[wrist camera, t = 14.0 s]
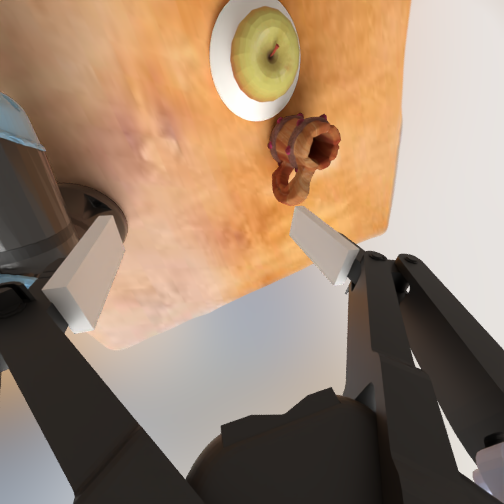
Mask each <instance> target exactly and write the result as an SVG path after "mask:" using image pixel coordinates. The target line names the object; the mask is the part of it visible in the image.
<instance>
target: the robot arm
mask: <svg viewBox="0 0 504 504" xmlns="http://www.w3.org/2000/svg"><path fill="white" fill-rule="evenodd" d="M44 151H46V149H45V147H44V146H43V145H41V144H40V142H39V140H38V137H37V135H36V133H35V131H34V129H33V127H32V124H31V122H30V120H29V118H28V116H27V114H26V112H25V111H24V109H23V108H22V107H21V106H20V105H19V104H18V103H17V102H16V101H14V100H13V99H12V98H10V97H9V96H7V95H5V94H3V93H2V92H0V387H1V372H2V371H5V370H7V369H9V370H10V372H11V373H12V375H13V377H14V379H15V381H16V383H17V385H18V387H19V388H20V390H21V392H22V394H23V396H24V398H25V400H26V402H27V404H28V406H29V407H30V409H31V411H32V413H33V415H34V417H35V419H36V420H37V422H38V424H39V426H40V428H41V430H42V432H43V434H44V436H45V438H46V440H47V441H48V443H49V445H50V447H51V449H52V451H53V452H54V454H55V456H56V458H57V460H58V462H59V464H60V466H61V468H62V470H63V472H64V474H65V475H66V477H67V479H68V481H69V483H70V485H71V487H72V489H73V491H74V495H75V499H74V502H73V504H504V350H503V349H502V348H501V347H500V345H499V344H498V343H497V342H496V341H495V340H494V339H493V338H492V337H491V336H490V335H489V333H488V332H487V331H486V330H485V329H484V328H483V327H482V326H481V325H480V324H479V323H478V322H477V320H476V319H475V318H474V317H473V316H472V315H471V314H470V313H469V312H468V311H467V310H466V308H465V307H464V306H463V305H462V304H461V303H460V302H459V301H458V300H457V299H456V298H455V296H454V295H453V294H452V293H451V292H450V291H449V290H448V289H447V288H446V287H445V286H444V285H443V283H442V282H441V281H440V280H439V279H438V278H437V277H436V276H435V275H434V274H433V273H432V271H431V270H430V269H429V268H428V267H427V266H426V265H425V264H424V263H423V262H422V261H421V260H420V259H418V258H417V257H415V256H412V255H410V254H409V255H408V254H399V256H398V257H397V259H396V260H388V259H387V258H386V257H385V256H384V255H382V254H380V253H377V252H374V251H364V250H363V249H361V248H360V247H359V246H358V245H356V244H355V243H354V242H352V241H351V240H350V239H348V238H347V237H346V236H344V235H343V234H341V233H339V232H337V231H335V230H334V229H333V228H332V227H330V226H329V225H328V224H326V223H325V222H324V221H322V220H321V219H320V218H318V217H317V216H316V215H315V214H313V213H312V212H311V211H309V210H308V209H307V208H305V207H304V206H295V209H294V214H293V219H292V224H291V229H290V234H289V236H290V237H291V238H292V239H293V240H294V241H295V242H296V244H297V245H298V246H299V247H300V248H301V249H302V250H303V251H304V253H305V254H306V255H307V256H308V257H309V258H310V259H311V261H312V262H313V263H314V264H315V265H316V266H317V267H318V268H319V270H320V271H321V272H322V273H323V274H324V275H325V276H326V278H328V280H329V281H330V282H331V283H332V284H333V285H334V286H337V285H342V284H344V283H345V281H346V278H347V277H348V278H349V279H350V280H351V282H350V284H349V287H348V288H347V290H346V292H345V294H347V293H348V292H349V302H348V333H347V334H348V336H347V365H346V366H347V367H346V385H345V390H344V393H343V396H340V395H336V394H335V393H334V391H333V389H332V387H331V388H328V389H324V390H322V391H319V392H316V393H313V394H310V395H308V396H306V397H305V398H304V399H303V400H301V401H300V402H299V403H298V404H296V405H295V406H294V407H293V408H292V409H290V410H289V411H288V412H287V413H285V414H282V415H250V416H247V417H245V418H241V419H239V420H236V421H233V422H230V423H227V424H224V425H221V434H220V435H219V436H217V437H216V438H215V439H214V440H213V441H211V442H210V444H208V446H207V447H206V448H205V449H204V450H203V451H202V453H201V454H200V455H199V457H198V458H197V460H196V461H195V463H194V464H193V466H192V468H191V470H190V472H189V473H188V475H187V477H186V480H185V479H184V477H183V476H182V475H181V474H180V473H179V471H178V470H177V469H176V468H175V467H174V465H173V464H172V463H171V462H170V461H169V459H168V458H167V457H166V456H165V454H164V453H163V452H162V451H161V450H160V448H159V447H158V446H157V445H156V444H155V442H154V441H153V440H152V439H151V438H150V436H149V435H148V434H147V433H146V432H145V430H144V429H143V428H142V427H141V426H140V425H139V424H138V422H137V421H136V420H135V419H134V418H133V416H132V415H131V414H130V413H129V412H128V410H127V409H126V408H125V407H124V405H123V404H122V403H121V402H120V401H119V400H118V398H117V397H116V396H115V395H114V393H113V392H112V391H111V390H110V388H109V387H108V386H107V385H106V384H105V383H104V381H103V380H102V379H101V378H100V376H99V375H98V374H97V373H96V372H95V370H94V369H93V368H92V367H91V365H90V364H89V363H88V362H87V361H86V359H85V358H84V357H83V356H82V355H81V354H80V352H79V351H78V350H77V349H76V348H75V346H74V345H73V344H72V343H71V342H70V340H69V339H68V338H67V337H66V335H65V334H64V333H65V331H66V329H67V327H68V326H69V328H70V329H71V330H72V332H73V333H74V334H76V333H81V332H86V331H92V330H94V329H95V327H96V324H97V321H98V319H99V316H100V314H101V311H102V309H103V306H104V304H105V301H106V298H107V296H108V293H109V291H110V288H111V286H112V283H113V281H114V278H115V276H116V273H117V270H118V268H119V265H120V263H121V260H122V258H123V255H124V253H125V248H124V246H123V243H124V241H125V239H126V236H127V232H128V226H127V221H126V218H125V216H124V214H123V212H122V211H121V210H120V208H119V207H118V206H117V205H116V204H115V203H114V202H113V201H112V200H111V199H109V198H108V197H107V196H105V195H104V194H102V193H100V192H98V191H96V190H94V189H91V188H89V187H86V186H82V185H77V184H70V183H59V184H57V182H56V180H55V177H54V175H53V172H52V170H51V167H50V164H49V162H48V159H47V157H46V154H45V152H44ZM409 285H410V291H409V293H408V292H407V291H406V289H407V288H408V286H409ZM410 348H411V349H410ZM411 350H412V352H413V354H414V356H415V358H416V360H417V362H418V364H419V366H420V367H421V369H419V368H416V367H415V364H414V361H413V357H412V354H411ZM437 401H438V402H439V405H440V406H441V408H442V410H443V412H444V414H445V416H446V418H447V420H448V421H449V423H450V425H451V427H452V429H453V430H454V432H455V434H456V435H457V437H458V438H459V440H460V442H461V443H462V445H463V446H464V448H465V449H466V451H467V452H468V454H469V455H470V457H471V458H472V459H473V461H474V462H475V463H476V465H477V467H478V469H476V470H475V471H473V479H474V481H475V483H474V482H473V481H471V480H470V479H469V478H467V477H466V476H464V475H463V474H461V473H460V472H459V471H458V468H457V465H456V461H455V458H454V455H453V452H452V448H451V445H450V442H449V438H448V435H447V431H446V428H445V425H444V422H443V418H442V415H441V412H440V408H439V405H438V402H437Z"/></svg>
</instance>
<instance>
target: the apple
mask: <svg viewBox="0 0 504 504" xmlns="http://www.w3.org/2000/svg"><path fill="white" fill-rule="evenodd" d="M299 54H300V49H299V43H298V37H297V34H296V32H295V30H294V27H293V25H292V23H291V21H290V20H289V19H288V18H287V17H286V16H285V15H284V14H283V13H282V12H280V11H279V10H278V9H275V8H271V7H268V6H263V7H260V8H257V9H253V10H251V12H250V13H249V14H248V15H247V16H246V17H245V18H244V19H243V20H242V21H241V22H240V23H239V25H238V27H237V30H236V32H235V35H234V38H233V40H232V43H231V56H230V62H231V67H232V72H233V76H234V78H235V80H236V82H237V84H238V86H239V88H240V90H241V91H242V92H243V93H244V94H245V95H246V96H247V97H249V98H250V99H253V100H255V101H258V102H270V101H274V100H276V99H278V98H279V97H281V96H282V95H284V94H285V93H286V92H287V91H288V89H289V88H290V87H291V85H292V84H293V82H294V79H295V76H296V73H297V70H298V66H299Z"/></svg>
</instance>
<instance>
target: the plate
mask: <svg viewBox="0 0 504 504" xmlns="http://www.w3.org/2000/svg"><path fill="white" fill-rule="evenodd" d="M263 6H268V7H271V8H275V9H278V10H279V11H280V12H282V13H283V14H284V15H285V16H286V17H287V18H288V19H289V20H290V21H291V23H292V25H293V27H294V30H295V32H296V34H297V31H296V28H295V26H294V23H293V21H292V19H291V17H290V15H289V13H288V12H287V10H286V9H285V7H284V6H283V5H282V4H281V3H280V2H279V1H278V0H230V1H229V2H228V3H227V4H226V5H225V6H224V8H223V9H222V11H221V12H220V14H219V16H218V18H217V20H216V23H215V25H214V28H213V31H212V36H211V41H210V54H209V59H210V69H211V74H212V78H213V82H214V85H215V87H216V90H217V92H218V94H219V96H220V98H221V99H222V101H223V102H224V104H225V105H226V106H227V107H228V108H229V109H230V110H231V111H232V112H233V113H234V114H236V115H237V116H239V117H241V118H243V119H246V120H249V121H263V120H267V119H269V118H271V117H273V116H275V115H276V114H278V113H279V112H280V111H281V110H282V109H283V108H284V107H285V106H286V104H287V103H288V101H289V100H290V98H291V96H292V94H293V92H294V90H295V87H296V84H297V80H298V76H299V70H300V54H299V66H298V70H297V73H296V76H295V79H294V82H293V84H292V85H291V87H290V88H289V89H288V91H287V92H286V93H285V94H284V95H282V96H281V97H279V98H278V99H276V100H274V101H270V102H258V101H255V100H253V99H250V98H249V97H247V96H246V95H245V94H244V93H243V92H242V91H241V90H240V88H239V86H238V84H237V82H236V80H235V78H234V76H233V72H232V67H231V62H230V56H231V43H232V40H233V38H234V35H235V32H236V30H237V27H238V25H239V23H240V22H241V21H242V20H243V19H244V18H245V17H246V16H247V15H248V14H249V13H250V12H251V10H253V9H257V8H260V7H263ZM297 37H298V35H297ZM298 43H299V39H298ZM299 49H300V46H299Z"/></svg>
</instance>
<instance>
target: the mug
mask: <svg viewBox="0 0 504 504" xmlns="http://www.w3.org/2000/svg"><path fill="white" fill-rule="evenodd" d="M340 141H341V137H340V133H339V131H338V129H337V128H336V127H335V126H334V125H330V123H329V122H328V121H327V116H326V115H325V114H323V115H321V116H320V117H310V118H306V119H304V116H303V114H302V113H299V114H298V115H293V116H287V117H285V118H282V117H280V118H278V120H277V124H276V125H275V127H274V129H273V131H272V133H271V137H270V141H269V143H268V148H269V149H270V151H271V155H272V157H273V159H274V160H276V161H277V162H278V166H279V168H278V169H277V170H275V171H274V173H273V174H272V187H273V193H274V196H275V197H276V199H277V200H278V201H279V202H281V203H283V204H286V205H289V206H294V205H298V204H300V203H302V202H303V201H304V200H305V199H306V198H307V196H308V194H309V186H310V181H311V178H312V176H313V174H314V172H315V170H316V169H319V170H322V169H325V168H326V167H328V166H329V165H330V162H331V161H332V160H334V159H335V158H336V156H337V153H338V149H339V146H338V143H339V142H340ZM294 168H295V172H296V175H295V177H294V178H293V180H292V181H291V182H290V183H289V184H288V179H289V175H290V173H291V172H292V170H293V169H294Z"/></svg>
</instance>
